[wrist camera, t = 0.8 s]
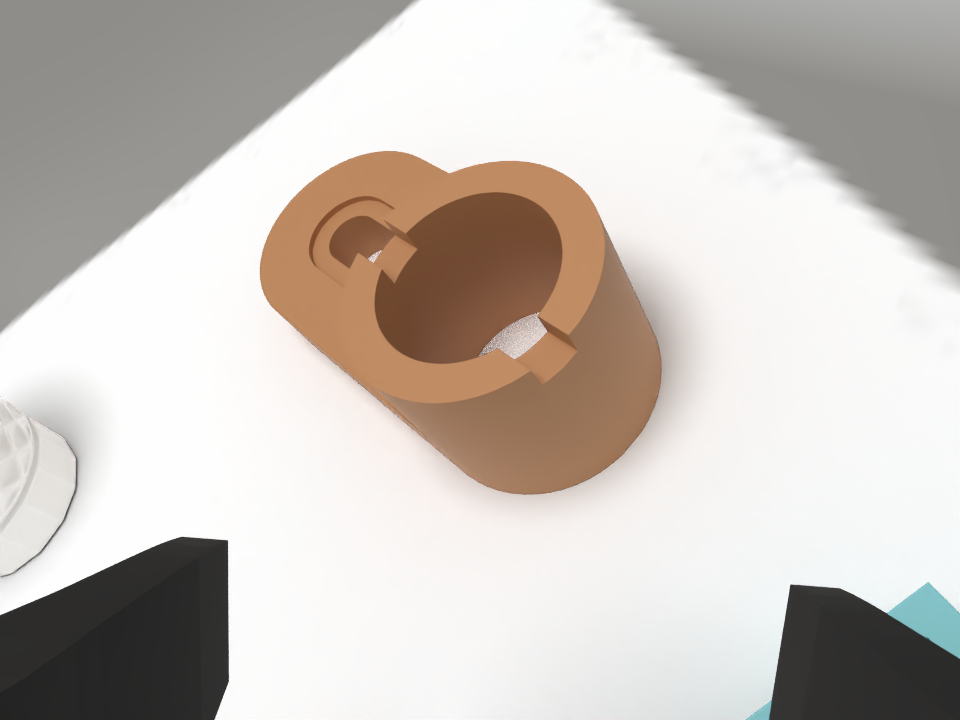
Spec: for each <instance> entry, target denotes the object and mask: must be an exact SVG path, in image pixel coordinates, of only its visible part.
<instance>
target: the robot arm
mask: <svg viewBox="0 0 960 720" xmlns="http://www.w3.org/2000/svg"><path fill="white" fill-rule="evenodd" d="M228 682H229V644H228V540H215V539H202V538H190V537H179V538H176V539H173V540H170V541H167V542H164V543H162V544H159V545H157V546H155V547H152V548H150V549H148V550H145V551H143V552H141V553H139V554H136V555H134V556H132V557H130V558H128V559H126V560H123V561H121V562H119V563H117V564H115V565H113V566H111V567H108V568H106V569H104V570H102V571H100V572H98V573H96V574H93V575H91V576H89V577H87V578H85V579H83V580H80V581H78V582H76V583H74V584H72V585H70V586H68V587H65V588H63V589H61V590H59V591H57V592H54V593H52V594H50V595H47V596H45V597H43V598H40V599H38V600H35V601H33V602H31V603H28V604H26V605H24V606H21V607H19V608H16V609H14V610H12V611H9V612H7V613H5V614H2V615H0V720H214V719H215V717H216V714H217V711H218V709H219V706H220V703H221V701H222V698H223V695H224V693H225V690H226V687H227V685H228ZM769 720H960V658H958V657H956V656H955V655H953V654H951V653H950V652H948V651H947V650H945V649H943V648H942V647H940V646H938V645H937V644H935V643H934V642H932V641H930V640H929V639H927V638H926V637H924V636H922V635H921V634H919V633H917V632H916V631H914V630H913V629H911V628H909V627H908V626H906V625H905V624H903V623H901V622H900V621H898V620H896V619H895V618H893V617H892V616H890V615H888V614H887V613H885V612H883V611H882V610H880V609H878V608H876V607H875V606H873V605H871V604H870V603H868V602H866V601H864V600H862V599H861V598H859V597H857V596H855V595H853V594H851V593H849V592H847V591H844V590H842V589H840V588H828V587H815V586H803V585H790V591H789V597H788V603H787V610H786V616H785V622H784V628H783V634H782V641H781V647H780V653H779V659H778V666H777V672H776V678H775V684H774V690H773V697H772V703H771V709H770V715H769Z"/></svg>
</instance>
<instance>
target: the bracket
mask: <svg viewBox="0 0 960 720" xmlns="http://www.w3.org/2000/svg"><path fill="white" fill-rule="evenodd" d="M380 250H382V252H381V253H380V254H379V256H378V257H377V259H376V260H375V262H374V263H372V262H371V261H369V260H368V259H367V258H369V257H370V256H371V255H372V254H374V253H376V252H378V251H380ZM260 280H261V286H262V289H263V292H264V295H265V297H266V299H267V301H268V302H269V303H270V305H271V306H272V307H273V308H274V309H275V310H276V311H277V312H278V313H279V314H280V315H281V316H282V317H283V318H284V319H286V320H287V321H288V322H289V323H290V324H291V325H292V326H293V327H294V328H295V329H296V330H297V331H299V332H300V333H301V334H302V335H303V336H304V337H305V338H306V339H307V340H308V341H309V342H311V343H312V344H313V345H314V346H315V347H316V348H317V349H319V350H320V351H321V352H322V353H323V354H325V355H326V356H327V357H328V358H329V359H330V360H332V361H333V362H334V363H335V364H336V365H338V366H339V367H340V368H341V369H342V370H344V371H345V372H346V373H347V374H348V375H349V376H351V377H352V378H353V379H354V380H355V381H357V382H358V383H359V384H360V385H361V386H362V387H364V388H365V389H366V390H367V391H368V392H370V393H371V394H372V395H373V396H374V397H376V398H377V399H378V400H379V401H380V402H381V403H383V404H384V405H385V406H386V407H387V408H389V409H390V410H391V411H392V412H393V413H394V414H396V415H397V416H398V417H399V418H400V419H402V420H403V421H404V422H405V423H406V424H407V425H409V426H410V427H411V428H412V429H413V430H415V431H416V432H417V433H418V434H419V435H421V436H422V437H423V438H424V439H425V440H426V441H428V442H429V443H430V444H431V445H432V446H434V447H435V448H436V449H437V450H438V451H439V452H441V453H442V454H443V455H444V456H445V457H447V458H448V459H449V460H450V461H451V462H453V463H454V464H455V465H456V466H457V467H458V468H460V469H461V470H462V471H463V472H464V473H466V474H467V475H468V476H470V477H471V478H473V479H474V480H476V481H477V482H479V483H481V484H483V485H485V486H487V487H490V488H493V489H496V490H499V491H503V492H508V493H514V494H542V493H550V492H554V491H559V490H563V489H566V488H569V487H572V486H575V485H577V484H579V483H581V482H584V481H586V480H588V479H590V478H592V477H593V476H595V475H597V474H598V473H600V472H602V471H603V470H604V469H606V468H607V467H609V466H610V465H611V464H613V463H614V462H615V461H616V460H617V459H618V458H619V457H621V456H622V455H623V454H624V452H625V451H626V450H627V449H628V448H629V446H630V445H631V444H632V443H633V442H634V440H635V439H636V438H637V437H638V436H639V434H640V433H641V432H642V430H643V429H644V427H645V425H646V423H647V422H648V420H649V418H650V416H651V413H652V411H653V409H654V406H655V403H656V400H657V397H658V393H659V388H660V382H661V357H660V351H659V346H658V343H657V340H656V337H655V335H654V332H653V330H652V328H651V326H650V324H649V321H648V319H647V317H646V315H645V313H644V311H643V309H642V306H641V304H640V302H639V300H638V298H637V296H636V293H635V291H634V289H633V287H632V285H631V283H630V281H629V278H628V276H627V274H626V272H625V270H624V268H623V265H622V263H621V261H620V259H619V257H618V255H617V252H616V250H615V248H614V246H613V244H612V242H611V240H610V237H609V235H608V233H607V231H606V229H605V227H604V224H603V222H602V220H601V218H600V216H599V214H598V212H597V209H596V207H595V205H594V204H593V202H592V200H591V199H590V197H589V196H588V195H587V193H586V192H585V191H584V190H583V189H582V188H581V187H580V186H579V185H578V184H577V183H576V182H574V181H573V180H572V179H571V178H569V177H567V176H566V175H564V174H563V173H561V172H559V171H556V170H554V169H552V168H549V167H546V166H543V165H540V164H535V163H530V162H521V161H499V162H489V163H484V164H479V165H474V166H471V167H467V168H464V169H461V170H458V171H455V172H453V173H450V174H449V173H447V172H445V171H443V170H441V169H439V168H437V167H436V166H434V165H432V164H430V163H428V162H426V161H424V160H422V159H420V158H418V157H416V156H414V155H411V154H407V153H403V152H397V151H382V152H374V153H368V154H364V155H360V156H357V157H354V158H351V159H349V160H347V161H344V162H342V163H340V164H338V165H336V166H334V167H332V168H330V169H329V170H327V171H325V172H324V173H322V174H321V175H319V176H318V177H317V178H315V179H314V180H313V181H311V182H310V183H309V184H308V185H306V186H305V187H304V188H303V189H302V190H301V191H300V192H299V193H298V194H297V195H296V196H295V197H294V198H293V199H292V200H291V201H290V202H289V204H288V205H287V206H286V207H285V209H284V210H283V211H282V213H281V214H280V216H279V217H278V219H277V220H276V222H275V223H274V225H273V227H272V229H271V231H270V233H269V235H268V237H267V240H266V242H265V245H264V249H263V252H262V257H261V263H260ZM538 312H540V313H539V314H538V318H539V319H540V321H541V322H542V324H543V325H544V327H545V328H546V330H547V331H548V332H547V333H546V334H545V335H544V336H543V337H542V338H541V339H540V340H539V341H538V342H537V343H536V344H535V345H534V346H533V347H532V348H531V349H529V350H528V351H527V352H525V353H524V354H523V355H521V356H520V357H518V358H517V359H515V360H514V359H512V358H511V357H510V356H508V355H507V354H505V353H504V352H502V351H501V350H499V349H496V350H494V351H492V352H490V353H487V354H485V355H482V356H480V357H478V356H479V354H480V353H481V351H482V350H483V348H484V347H485V346H486V345H487V344H488V342H489V341H490V340H491V339H492V338H493V337H494V336H496V335H497V334H498V333H499V332H500V331H501V330H503V329H504V328H506V327H507V326H508V325H510V324H512V323H513V322H515V321H517V320H519V319H521V318H523V317H526V316H528V315H531V314H534V313H538Z"/></svg>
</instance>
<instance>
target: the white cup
mask: <svg viewBox="0 0 960 720" xmlns="http://www.w3.org/2000/svg"><path fill="white" fill-rule="evenodd" d="M75 487H76V457H75V456H74V454H73V452H72V451H71V449H70V447H69V446H68V444H67V442H66V441H65V439H64V438H63V437H61V436H60V435H58V434H57V433H55V432H53V431H52V430H50V429H48V428H47V427H45V426H43V425H41V424H40V423H38V422H36V421H35V420H33V419H31V418H30V417H28V416H26V415H24V414H22V413H21V412H20V411H19V410H18V409H17V408H16V407H14V406H13V405H12V404H11V403H9V402H8V401H7V400H5V399H4V398H2V397H1V396H0V576H3V575H7V574H11V573H13V572H14V571H15V570H17V569H18V568H19V567H21V566H22V565H23V564H25V563H26V562H27V561H29V560H30V559H31V558H33V557H34V556H35V555H37V554H38V553H39V552H40V551H41V550H42V548H43V547H44V546H45V545H46V543H47V542H48V541H49V539H50V538H51V537H52V535H53V534H54V532H55V531H56V530H57V528H58V527H59V526H60V524H61V523H62V521H63V519H64V517H65V514H66V512H67V509H68V506H69V504H70V501H71V498H72V496H73V493H74V490H75Z"/></svg>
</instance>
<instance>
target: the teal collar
mask: <svg viewBox="0 0 960 720" xmlns="http://www.w3.org/2000/svg"><path fill="white" fill-rule="evenodd" d="M887 614H888V615H890V616H892V617H893V618H895V619H896V620H898V621H900V622H901V623H903V624H905V625H906V626H908V627H909V628H911V629H913V630H914V631H916V632H917V633H919V634H921V635H922V636H924V637H926V638H927V639H929V640H930V641H932V642H934V643H935V644H937V645H938V646H940V647H942V648H943V649H945V650H947V651H948V652H950V653H951V654H953V655H955V656H956V657H958V658H960V613H959V612H958V611H957V610H956V609H955V608H954V607H953V606H952V605H951V604H950V603H949V602H948V601H947V600H946V599H945V598H944V597H943V596H942V595H941V594H940V593H939V592H938V591H937V590H936V589H935V588H934V587H933V586H932V585H931V584H930V583H929V582H928V583H926V584H925V585H924V586H922V587H921V588H920V589H918V590H917V591H916V592H914V593H913V594H912V595H910V596H909V597H908V598H906V599H905V600H904V601H902V602H901V603H900V604H898V605H897V606H896V607H894V608H893V609H892V610H890V611H889V612H888V613H887ZM771 703H772V700H771V701H770V702H769V703H767V704H766V705H765V706H763V707H762V708H761V709H759V710H758V711H757V712H755V713H754V714H753V715H751V716H750V717H749V718H747V719H746V720H769V715H770V709H771Z"/></svg>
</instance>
